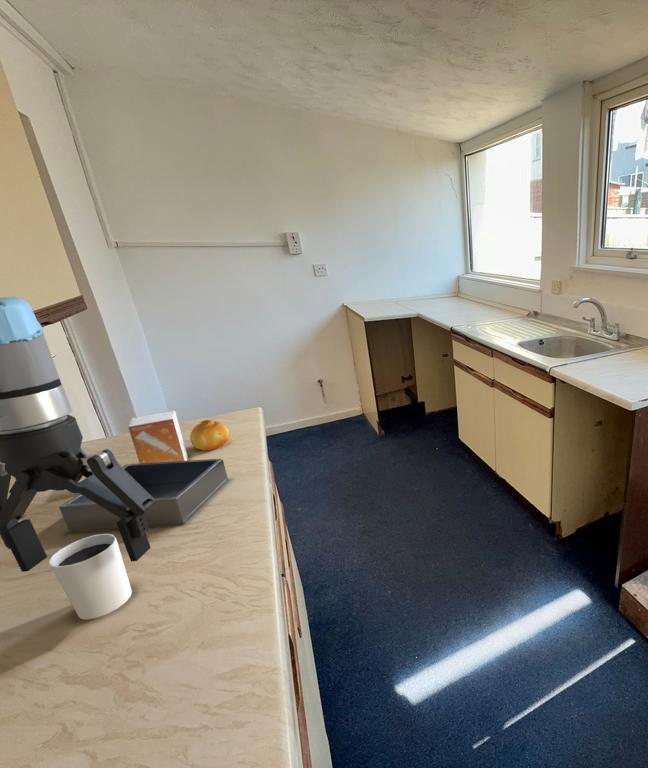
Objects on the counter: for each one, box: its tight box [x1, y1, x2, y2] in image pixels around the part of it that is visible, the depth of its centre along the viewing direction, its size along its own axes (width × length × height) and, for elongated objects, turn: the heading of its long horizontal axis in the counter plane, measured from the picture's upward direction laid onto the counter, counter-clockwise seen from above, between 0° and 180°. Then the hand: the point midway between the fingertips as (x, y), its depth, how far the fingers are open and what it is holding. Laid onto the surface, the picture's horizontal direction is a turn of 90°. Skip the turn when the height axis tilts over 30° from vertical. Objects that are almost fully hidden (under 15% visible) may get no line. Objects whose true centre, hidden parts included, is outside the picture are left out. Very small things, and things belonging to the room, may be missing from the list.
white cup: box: [48, 533, 133, 621], centre depth 58 cm, size 7×7×10 cm
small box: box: [128, 410, 188, 463], centre depth 95 cm, size 8×6×13 cm
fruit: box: [189, 419, 230, 451], centre depth 106 cm, size 8×8×8 cm
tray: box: [58, 458, 229, 534], centre depth 81 cm, size 20×16×6 cm
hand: (88, 559), depth 56 cm, fingers open, 13 cm apart
